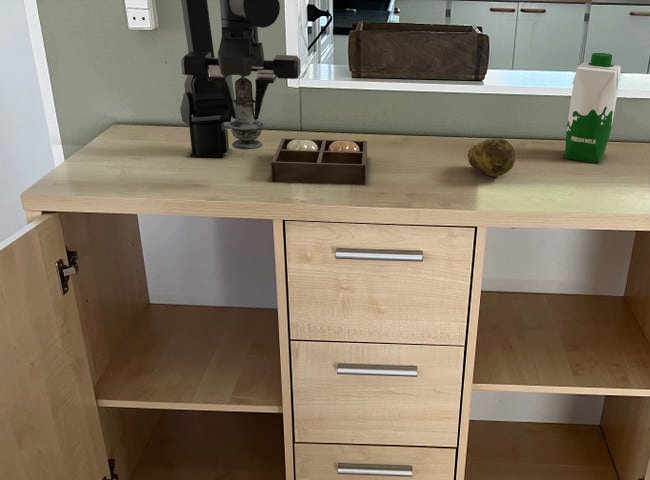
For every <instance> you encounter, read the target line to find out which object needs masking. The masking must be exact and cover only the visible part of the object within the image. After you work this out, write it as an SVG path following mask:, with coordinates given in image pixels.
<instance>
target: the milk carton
mask: <svg viewBox="0 0 650 480" xmlns="http://www.w3.org/2000/svg"><path fill="white" fill-rule="evenodd" d="M612 61H613V54H611V53H605V52H593V53H591V58H590V62H582V63H581V64H579V65H578V66H577V67H576V69H575V74H574V77H573V82H572V91H571V95H570V96H571V97H570V103H569V109H568V117H567V122H566V131H565V147H564V159H565V160H570V161H571V160H572V161H579V162H586V163H594V164H599V163H600V161H601V160H602V158H603V157H604V155H605V151H606V148H607V145H608V143H609V140H610V137H611V132H612V126H613V121H614V115H615V110H616V104H617V99H618V94H619V93H618V92H619V85H620V79H621V68H622V66H621V65H615V64H612Z"/></svg>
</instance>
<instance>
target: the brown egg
mask: <svg viewBox="0 0 650 480" xmlns="http://www.w3.org/2000/svg"><path fill="white" fill-rule="evenodd" d="M351 141H352V140H351ZM351 141H335V142H333V143H332V144H331V145H330V146H329V148H328V151H346V152H360V148H359V146H358V145H357V144H356V143H354V142H351Z"/></svg>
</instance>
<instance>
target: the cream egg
mask: <svg viewBox="0 0 650 480" xmlns="http://www.w3.org/2000/svg"><path fill="white" fill-rule="evenodd" d="M286 150H315V151H319V149H318V146H317V145H316V144H315V143H314V142H313V141H310V140H292V141H291V142H289V143H288V145H287V147H286Z"/></svg>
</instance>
